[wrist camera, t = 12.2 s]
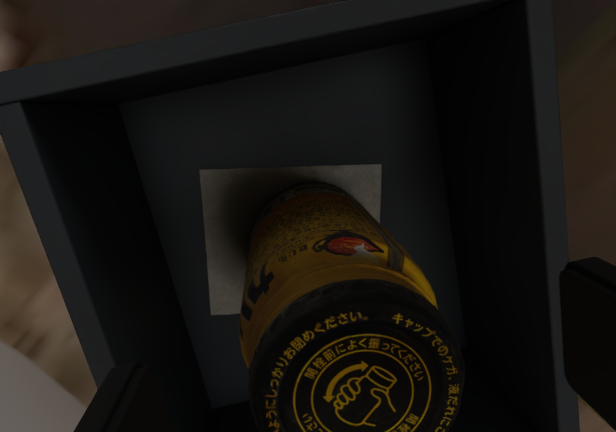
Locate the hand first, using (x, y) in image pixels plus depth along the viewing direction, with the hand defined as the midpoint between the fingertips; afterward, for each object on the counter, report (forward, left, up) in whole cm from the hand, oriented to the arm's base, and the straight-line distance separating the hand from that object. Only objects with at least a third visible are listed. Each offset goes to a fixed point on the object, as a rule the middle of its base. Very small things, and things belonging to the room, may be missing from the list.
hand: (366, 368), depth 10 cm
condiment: (0, -1, -12) cm, 12 cm away
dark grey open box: (+1, 0, -13) cm, 13 cm away
